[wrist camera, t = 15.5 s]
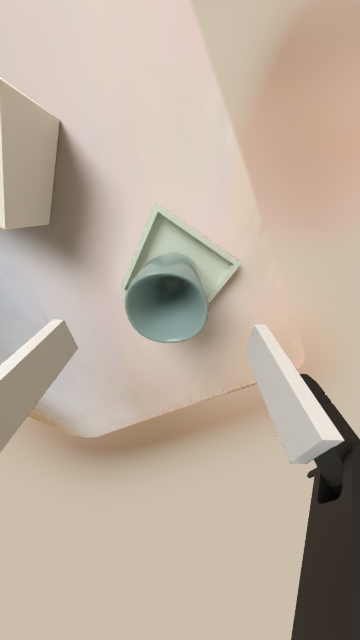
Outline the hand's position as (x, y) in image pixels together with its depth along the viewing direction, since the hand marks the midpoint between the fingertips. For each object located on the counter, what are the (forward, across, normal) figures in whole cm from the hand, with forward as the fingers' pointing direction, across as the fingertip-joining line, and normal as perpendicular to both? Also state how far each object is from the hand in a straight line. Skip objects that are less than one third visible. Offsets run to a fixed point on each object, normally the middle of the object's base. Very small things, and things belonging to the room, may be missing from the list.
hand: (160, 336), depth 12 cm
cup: (+14, 0, 0) cm, 14 cm away
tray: (+14, +1, 0) cm, 14 cm away
